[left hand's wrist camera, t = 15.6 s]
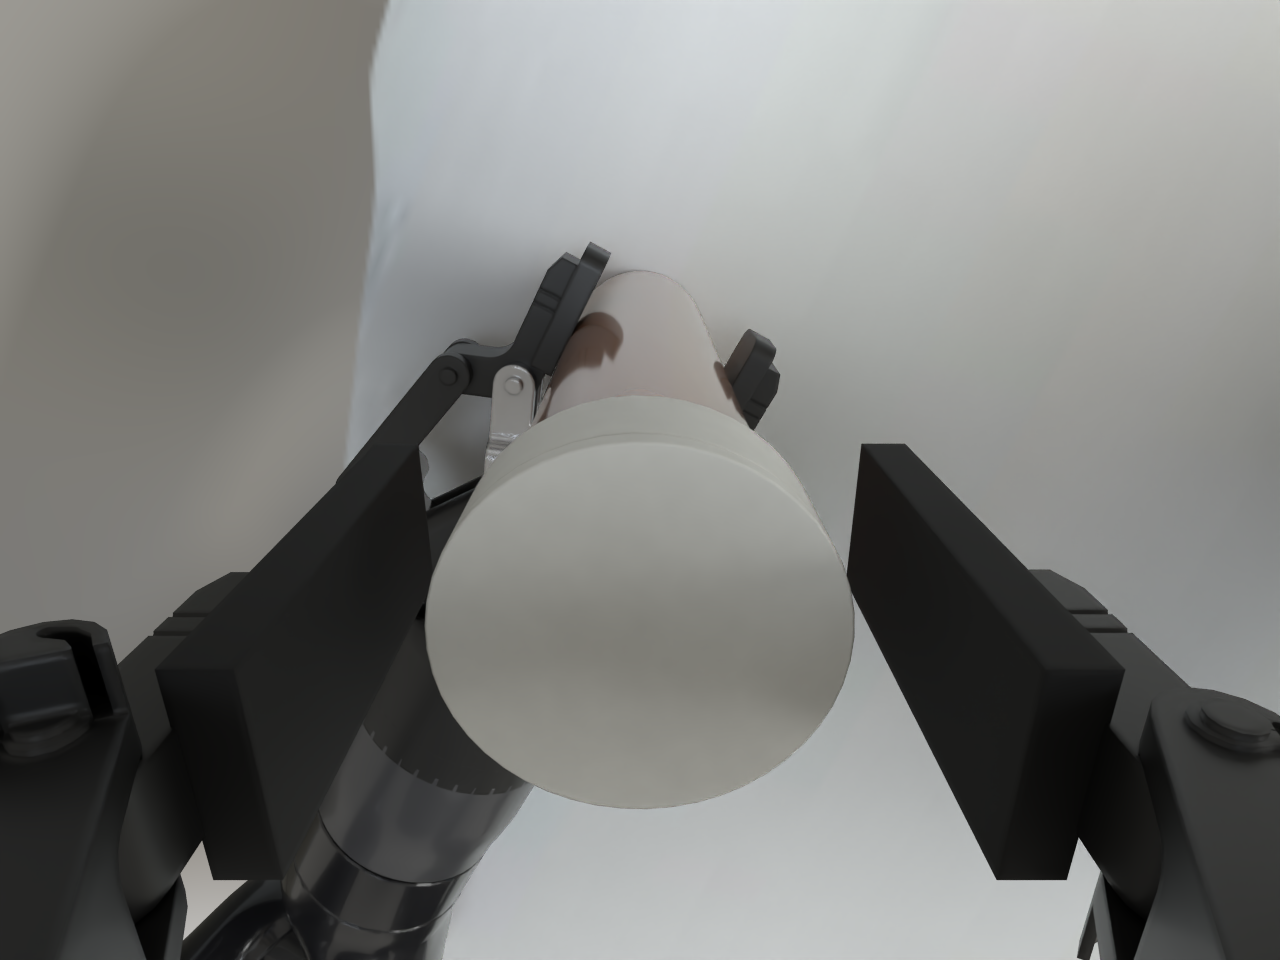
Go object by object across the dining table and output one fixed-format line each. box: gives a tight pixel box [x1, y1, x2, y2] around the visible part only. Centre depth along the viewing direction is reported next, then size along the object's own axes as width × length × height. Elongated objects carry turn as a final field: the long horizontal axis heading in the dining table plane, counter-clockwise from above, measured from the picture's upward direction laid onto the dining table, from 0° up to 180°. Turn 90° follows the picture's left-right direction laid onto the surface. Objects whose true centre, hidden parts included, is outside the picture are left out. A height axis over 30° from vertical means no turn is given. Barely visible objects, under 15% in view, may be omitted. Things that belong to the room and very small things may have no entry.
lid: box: [425, 396, 854, 809], centre depth 11 cm, size 6×6×2 cm
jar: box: [530, 271, 749, 428], centre depth 20 cm, size 5×5×20 cm
